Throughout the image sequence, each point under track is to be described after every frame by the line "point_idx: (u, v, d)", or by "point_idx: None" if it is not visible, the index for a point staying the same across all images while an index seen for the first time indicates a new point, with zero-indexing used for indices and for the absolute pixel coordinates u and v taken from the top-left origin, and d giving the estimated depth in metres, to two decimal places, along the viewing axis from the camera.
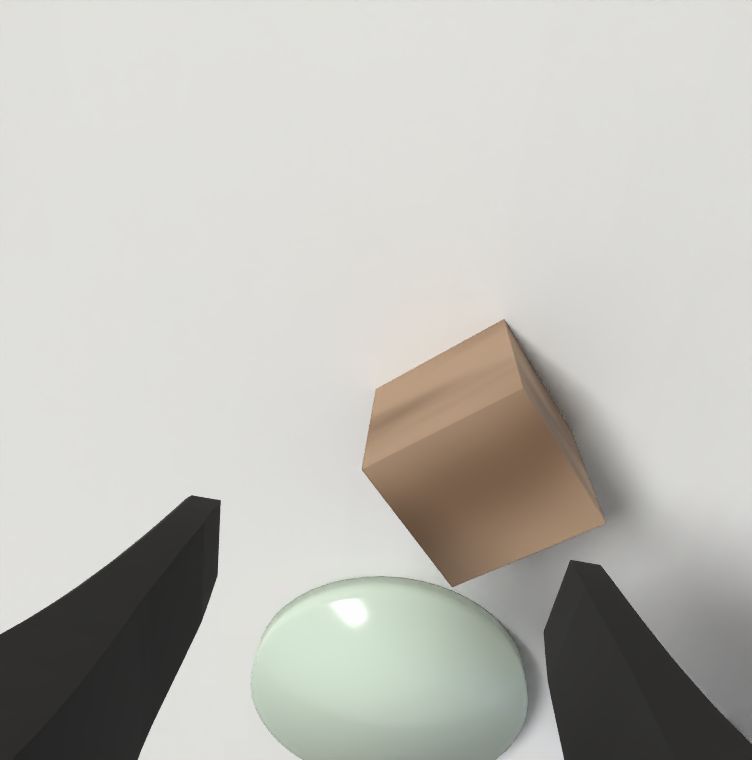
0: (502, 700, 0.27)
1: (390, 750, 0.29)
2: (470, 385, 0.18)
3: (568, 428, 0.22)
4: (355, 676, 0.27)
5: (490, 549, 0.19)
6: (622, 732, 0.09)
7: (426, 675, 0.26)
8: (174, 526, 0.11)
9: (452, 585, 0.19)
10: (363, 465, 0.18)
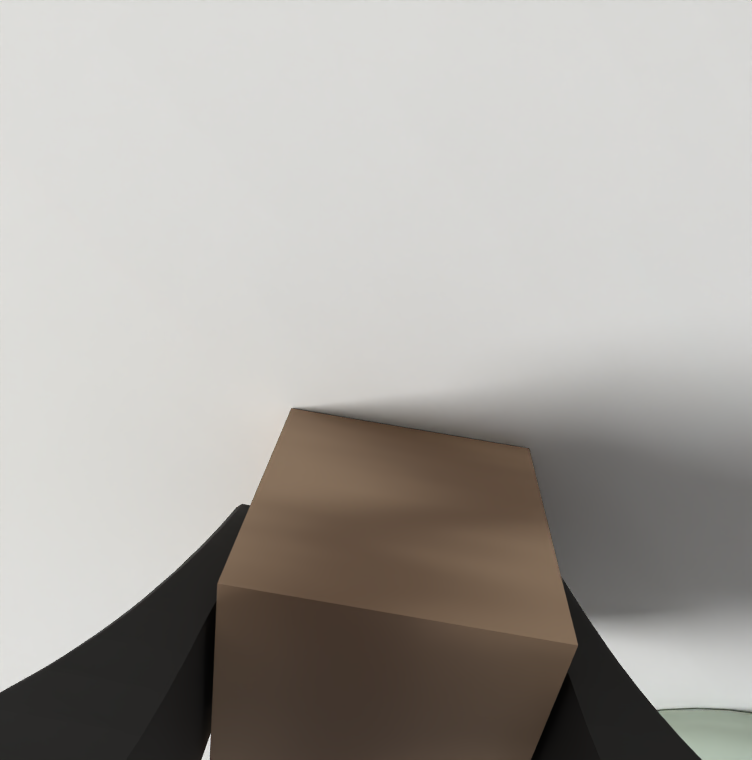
0: None
1: None
2: None
3: (510, 455, 0.13)
4: None
5: None
6: (554, 720, 0.10)
7: None
8: (231, 536, 0.11)
9: None
10: None
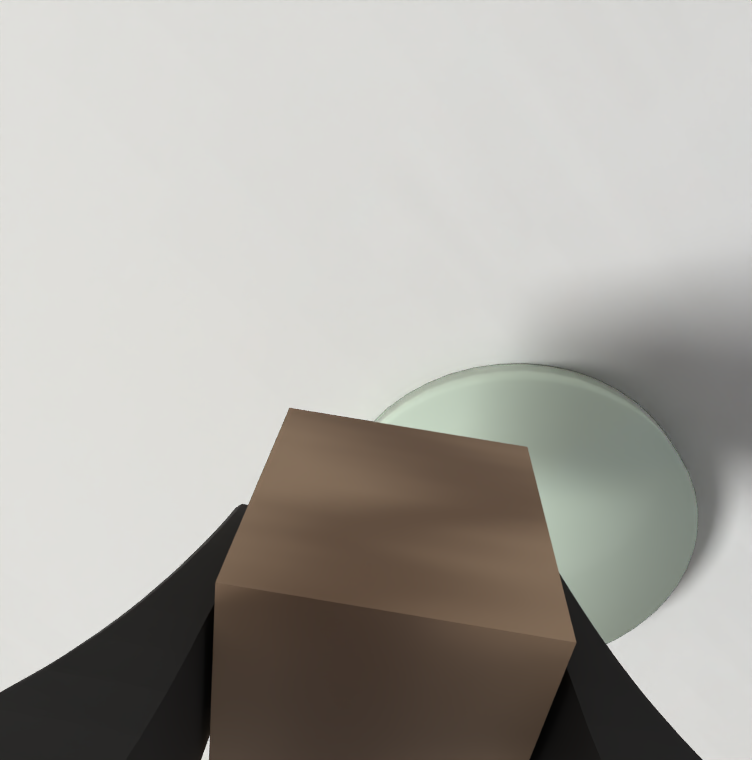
0: (613, 438, 0.19)
1: (581, 590, 0.22)
2: None
3: (509, 453, 0.13)
4: None
5: None
6: (554, 720, 0.10)
7: None
8: (230, 536, 0.11)
9: None
10: None
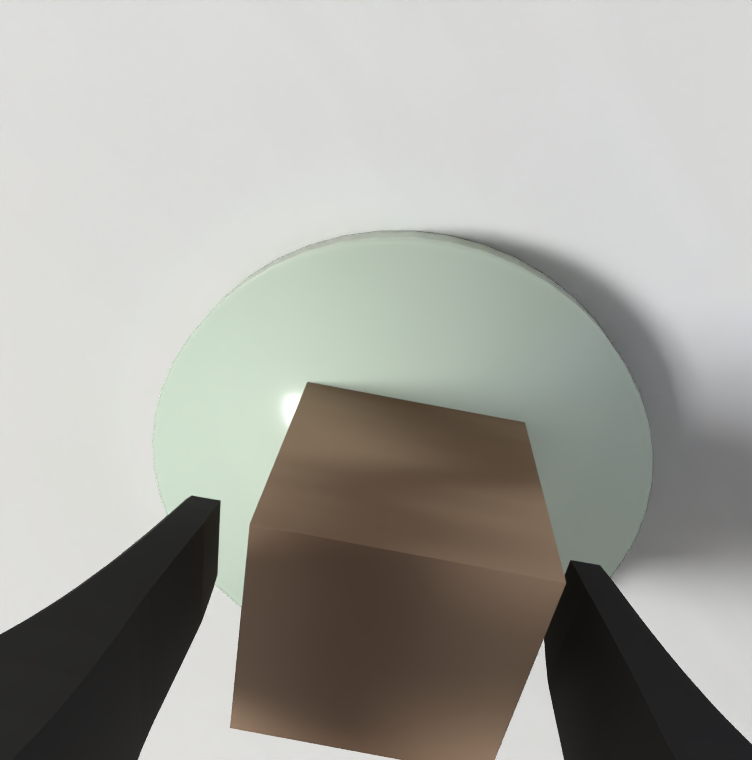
0: (534, 340, 0.13)
1: None
2: None
3: (508, 427, 0.14)
4: None
5: (470, 709, 0.11)
6: (622, 732, 0.09)
7: None
8: (174, 526, 0.11)
9: None
10: (232, 719, 0.12)
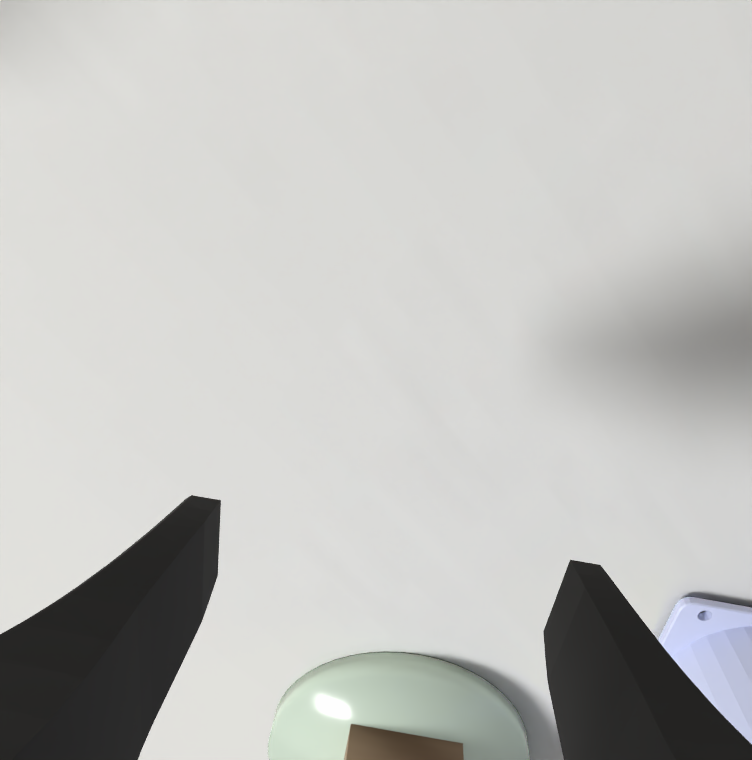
0: (464, 712, 0.27)
1: None
2: None
3: (453, 749, 0.27)
4: None
5: None
6: (622, 732, 0.09)
7: None
8: (174, 526, 0.11)
9: None
10: None
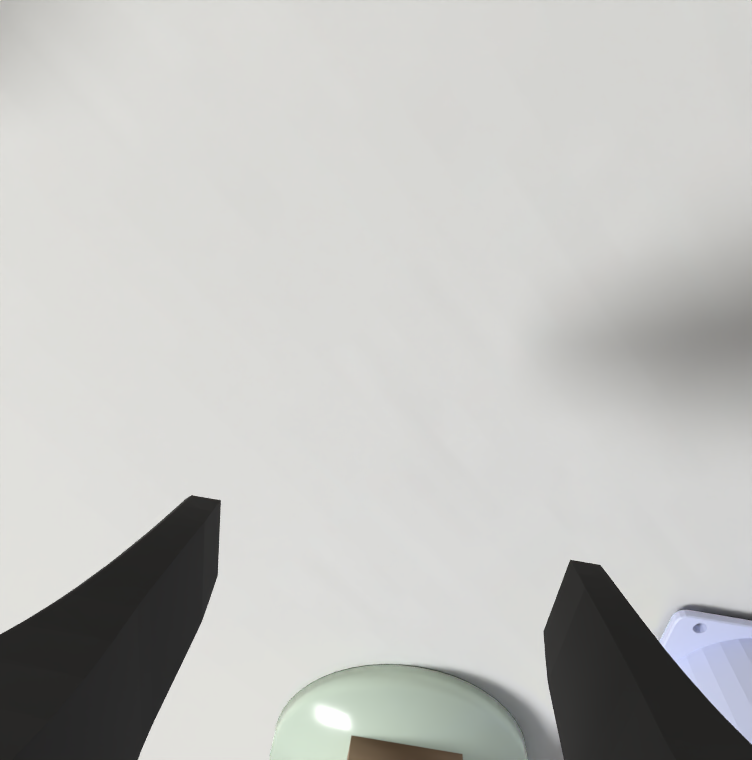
0: (463, 724, 0.27)
1: None
2: None
3: None
4: None
5: None
6: (622, 732, 0.10)
7: None
8: (174, 526, 0.11)
9: None
10: None
